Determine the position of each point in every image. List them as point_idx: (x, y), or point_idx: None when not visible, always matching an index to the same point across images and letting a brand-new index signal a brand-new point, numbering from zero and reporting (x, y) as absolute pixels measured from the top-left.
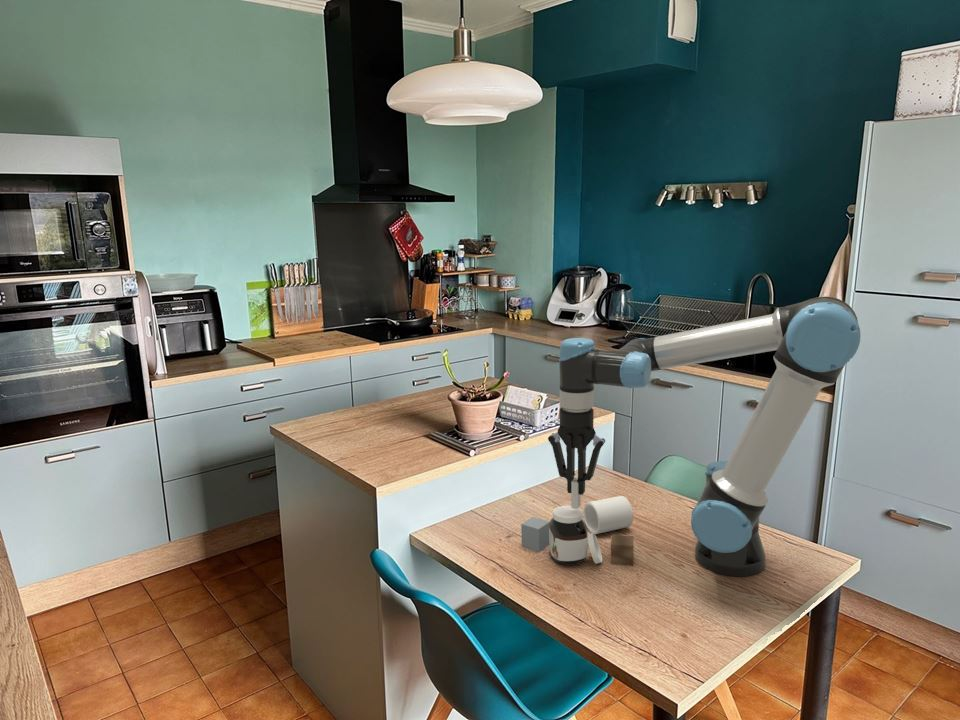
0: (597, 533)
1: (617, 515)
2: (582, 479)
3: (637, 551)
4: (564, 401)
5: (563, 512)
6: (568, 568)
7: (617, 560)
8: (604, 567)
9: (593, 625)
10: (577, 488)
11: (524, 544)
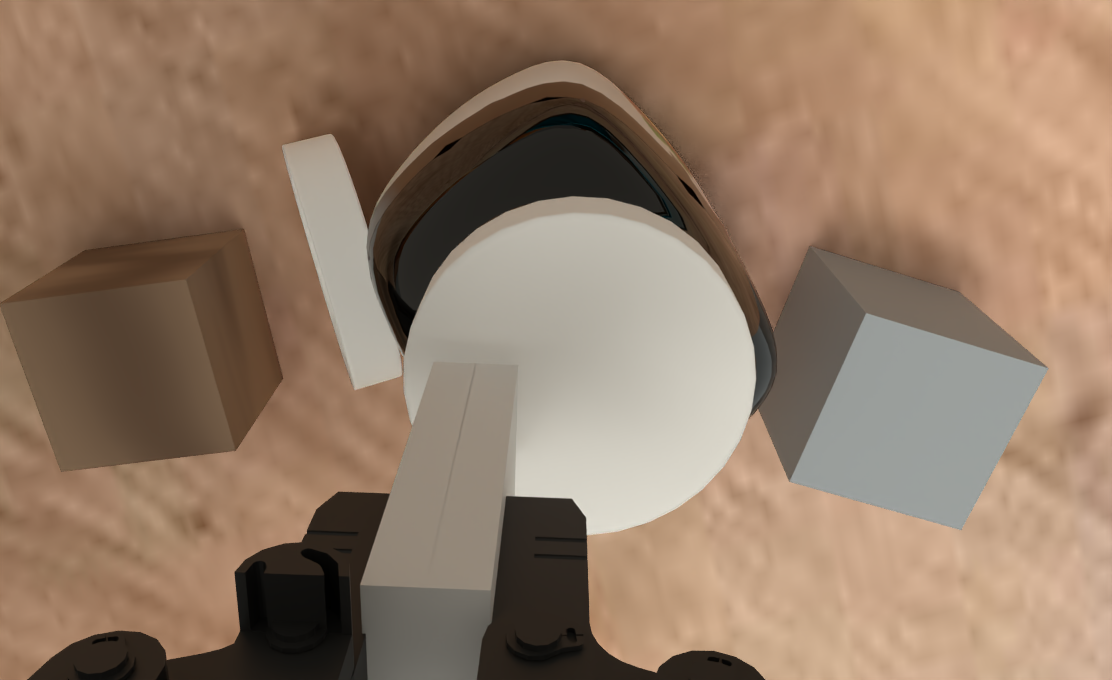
0: None
1: None
2: (250, 639)
3: None
4: None
5: (622, 348)
6: (529, 63)
7: (183, 245)
8: (271, 165)
9: None
10: (388, 514)
11: (944, 292)
